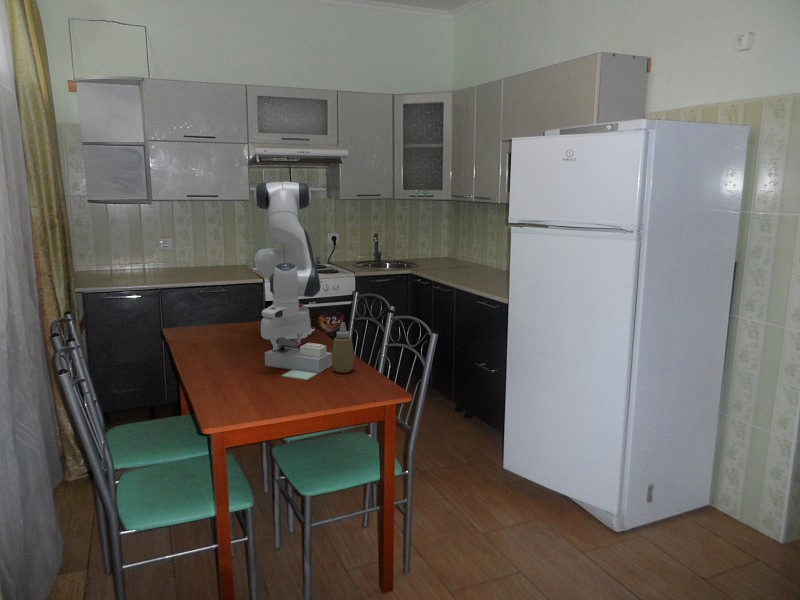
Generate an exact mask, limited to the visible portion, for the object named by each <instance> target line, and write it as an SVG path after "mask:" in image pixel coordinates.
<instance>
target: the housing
mask: <svg viewBox="0 0 800 600" xmlns="http://www.w3.org/2000/svg"><path fill="white" fill-rule="evenodd" d="M332 354H333V352H329V351H326V354H325V355H323V356H321V357H315V356H308V355H300V348H299V347H291V346H289V347H288V346H285V350H274V349H270V350H267V351H265V352H264V366H266V367H270V368H273V367H274V368H277V369H278V368H280V369H287V370H297V371H304V372H311V373H317V374H321V373H322V372H324V371H325V369H326V370H328V369H329V368H331V367H333V364H332ZM330 366H331V367H330ZM327 368H328V369H327Z"/></svg>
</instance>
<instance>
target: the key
mask: <svg viewBox="0 0 800 600" xmlns="http://www.w3.org/2000/svg"><path fill="white" fill-rule="evenodd" d="M277 344H279V349H278V350H285V347H288V346H289V347H291V348H299V347H300V345H299V342H296V341H294V340H293V339H285V338H284V337H280V338H278V339H277Z"/></svg>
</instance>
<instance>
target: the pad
mask: <svg viewBox="0 0 800 600" xmlns="http://www.w3.org/2000/svg"><path fill="white" fill-rule="evenodd" d="M317 375H318V373H314V372H306V371H299V370H292V369H290V370H289V371H287V372H286V373H284V374H281V377H284V378H290V379H298V380H304V381H305V380H306V381H308V380H310V379H311V378H313V377H315V376H317Z"/></svg>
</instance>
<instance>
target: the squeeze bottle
mask: <svg viewBox="0 0 800 600" xmlns="http://www.w3.org/2000/svg"><path fill="white" fill-rule="evenodd" d="M354 354H355V353H354V345H353V338H351V337H350V331H348V330H347V327H346V322H344V321H341V322H340V327H339V330H338V331H336V337H334V339H333V347H332V367H333V369H334V372H336V373H340V374H343V373H344V374H346V373H351V372H352V368H353V367H354V363H355V355H354Z"/></svg>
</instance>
